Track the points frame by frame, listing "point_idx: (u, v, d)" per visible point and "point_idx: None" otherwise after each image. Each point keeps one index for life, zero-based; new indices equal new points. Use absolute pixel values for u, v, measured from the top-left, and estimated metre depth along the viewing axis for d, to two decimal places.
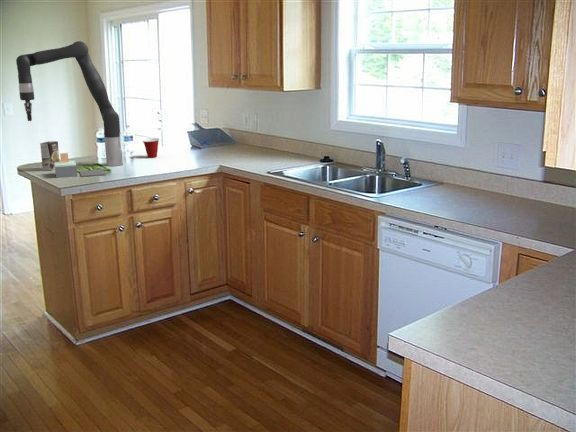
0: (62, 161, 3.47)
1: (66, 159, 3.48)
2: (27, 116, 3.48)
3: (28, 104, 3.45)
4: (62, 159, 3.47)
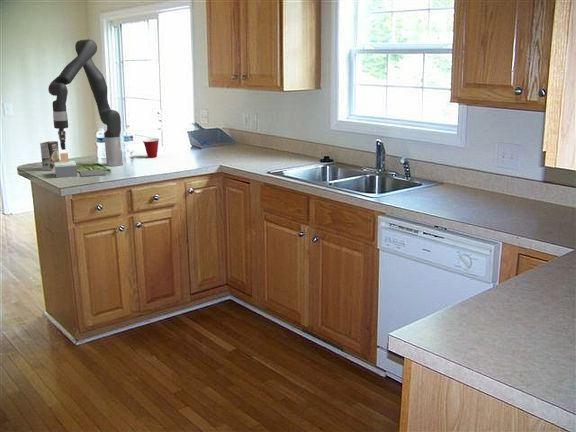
0: (62, 161, 3.47)
1: (66, 159, 3.48)
2: (61, 145, 3.42)
3: (62, 133, 3.38)
4: (62, 159, 3.47)
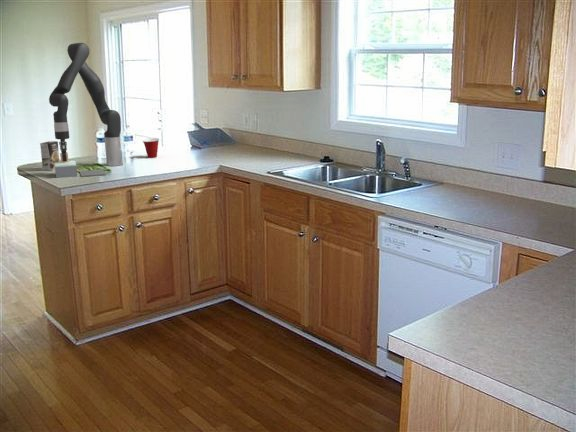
0: (62, 161, 3.47)
1: None
2: (62, 156, 3.46)
3: (64, 147, 3.41)
4: (62, 159, 3.47)
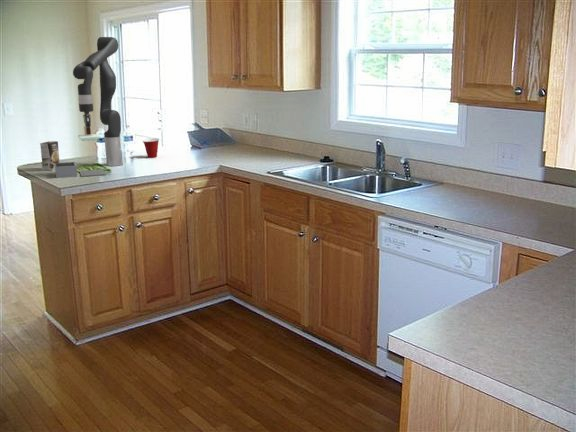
0: (86, 134, 3.47)
1: None
2: (86, 129, 3.46)
3: (88, 119, 3.41)
4: None
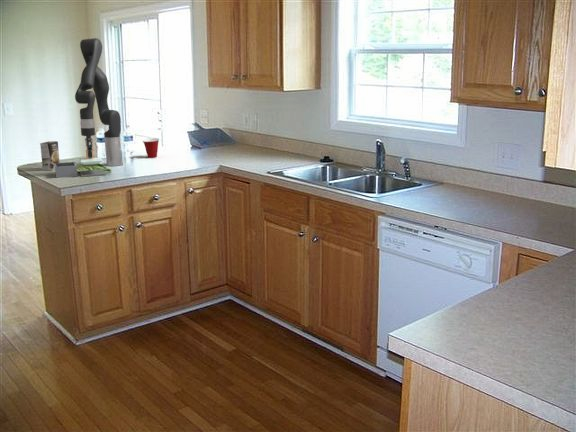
0: (88, 158, 3.50)
1: None
2: (88, 153, 3.49)
3: (90, 143, 3.44)
4: None
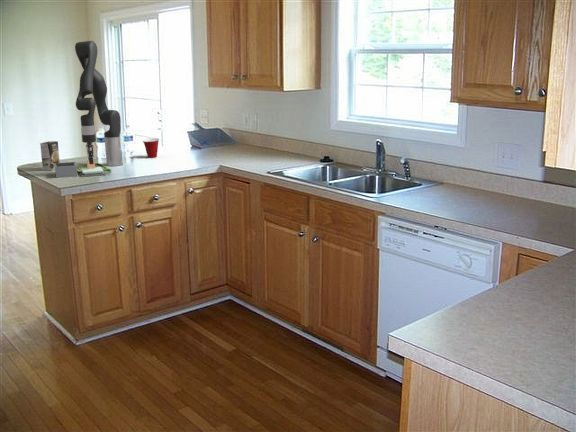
0: (89, 167, 3.52)
1: (93, 165, 3.53)
2: (89, 159, 3.49)
3: (91, 149, 3.44)
4: (89, 165, 3.52)
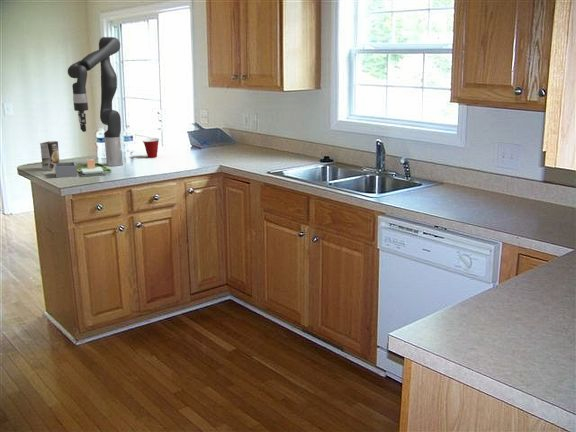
0: (89, 167, 3.52)
1: (93, 165, 3.53)
2: (82, 127, 3.45)
3: (83, 115, 3.42)
4: (89, 165, 3.52)
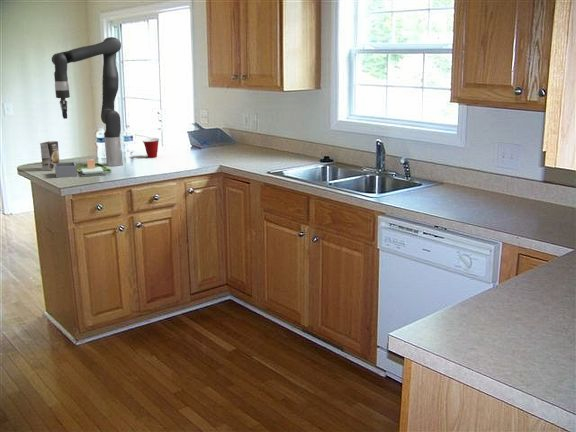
0: (89, 167, 3.52)
1: (93, 165, 3.53)
2: (63, 114, 3.52)
3: (64, 102, 3.48)
4: (89, 165, 3.52)
